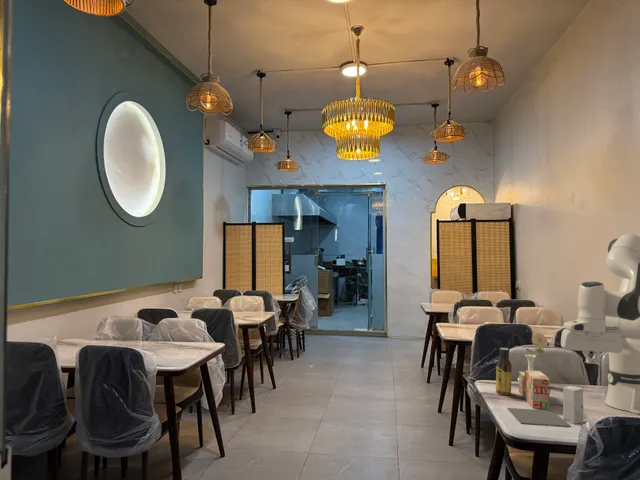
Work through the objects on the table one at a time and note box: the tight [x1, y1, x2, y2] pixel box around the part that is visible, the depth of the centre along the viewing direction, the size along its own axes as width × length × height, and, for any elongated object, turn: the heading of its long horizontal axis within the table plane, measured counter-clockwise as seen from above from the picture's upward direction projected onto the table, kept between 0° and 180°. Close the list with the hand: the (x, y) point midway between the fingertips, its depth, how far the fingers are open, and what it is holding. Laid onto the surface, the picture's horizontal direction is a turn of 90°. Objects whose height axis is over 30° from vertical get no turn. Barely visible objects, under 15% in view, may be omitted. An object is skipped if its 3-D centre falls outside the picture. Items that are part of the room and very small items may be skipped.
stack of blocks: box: [518, 369, 551, 411], centre depth 178 cm, size 21×6×12 cm, turn 169°
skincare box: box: [562, 385, 584, 425], centre depth 156 cm, size 6×4×12 cm
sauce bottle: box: [495, 347, 513, 396], centre depth 186 cm, size 7×6×20 cm
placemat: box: [506, 407, 572, 428], centre depth 158 cm, size 17×15×1 cm
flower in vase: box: [517, 332, 549, 383], centre depth 200 cm, size 13×11×25 cm
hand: (591, 363), depth 156 cm, fingers closed
